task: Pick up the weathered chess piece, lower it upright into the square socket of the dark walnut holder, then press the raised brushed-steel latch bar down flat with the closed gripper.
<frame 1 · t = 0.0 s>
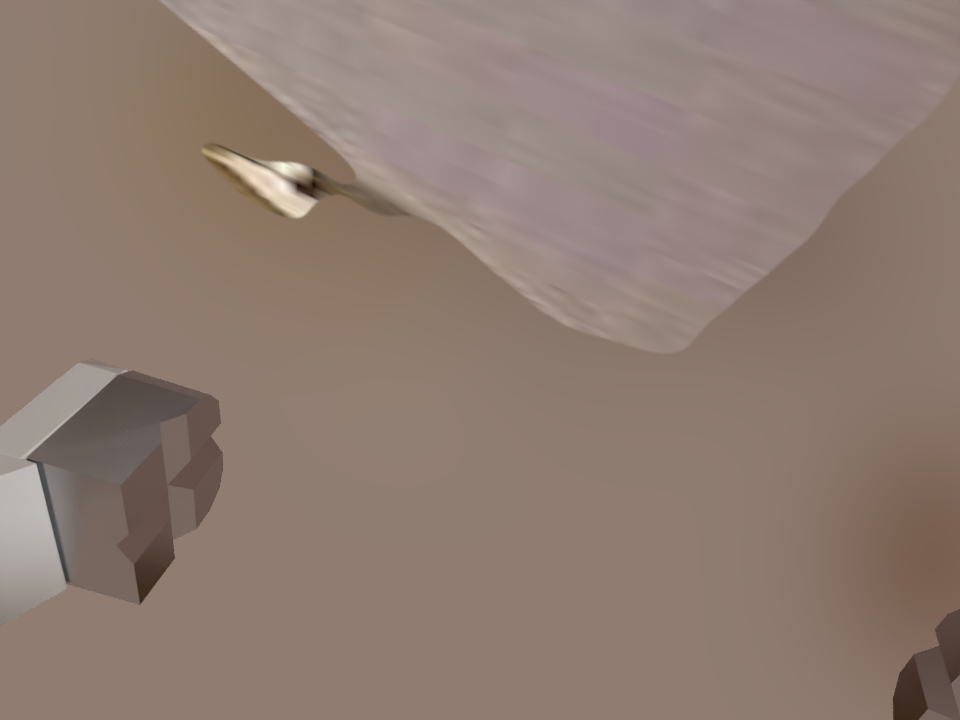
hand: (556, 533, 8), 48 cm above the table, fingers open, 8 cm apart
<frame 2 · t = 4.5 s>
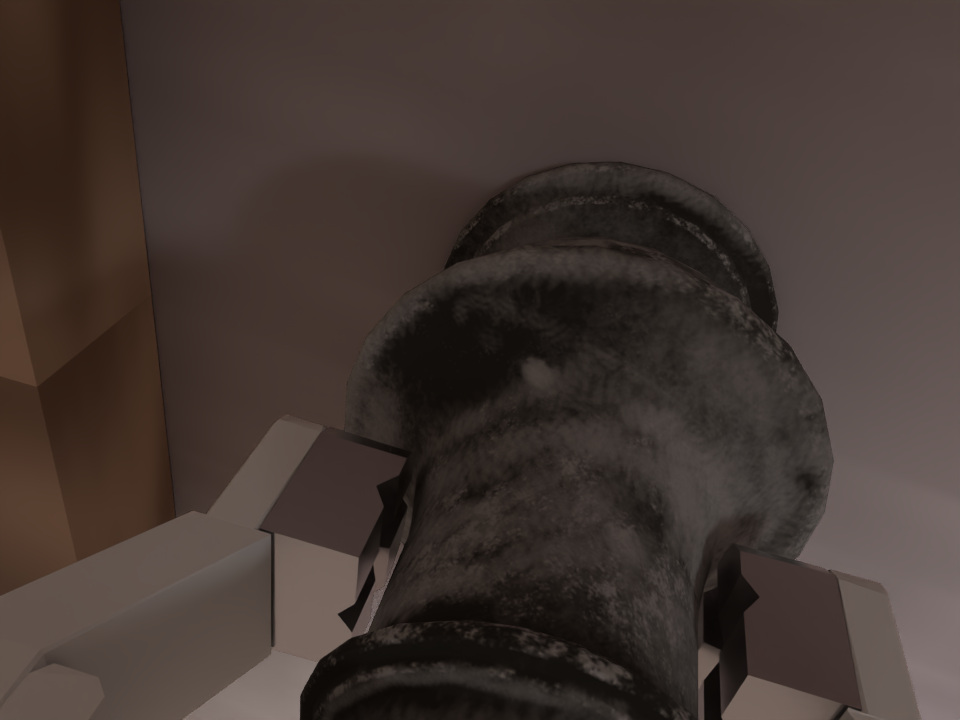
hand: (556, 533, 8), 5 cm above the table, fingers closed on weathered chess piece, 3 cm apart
weathered chess piece: (601, 317, 12), on the table, touching gripper
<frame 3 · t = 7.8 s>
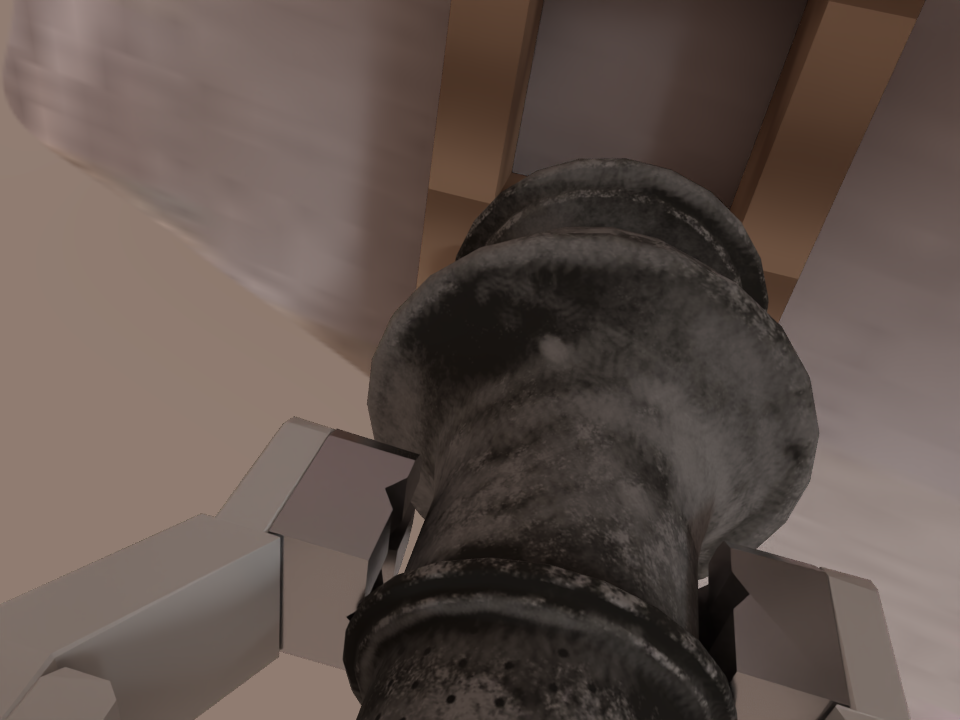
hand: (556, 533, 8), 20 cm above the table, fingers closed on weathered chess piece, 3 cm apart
weathered chess piece: (603, 304, 13), point 14 cm above the table, touching gripper
walnut holder: (608, 228, 27), on the table
when the fingers open (6 cm above the table, at t = 10.5 s): weathered chess piece moves 1 cm, resting on walnut holder.
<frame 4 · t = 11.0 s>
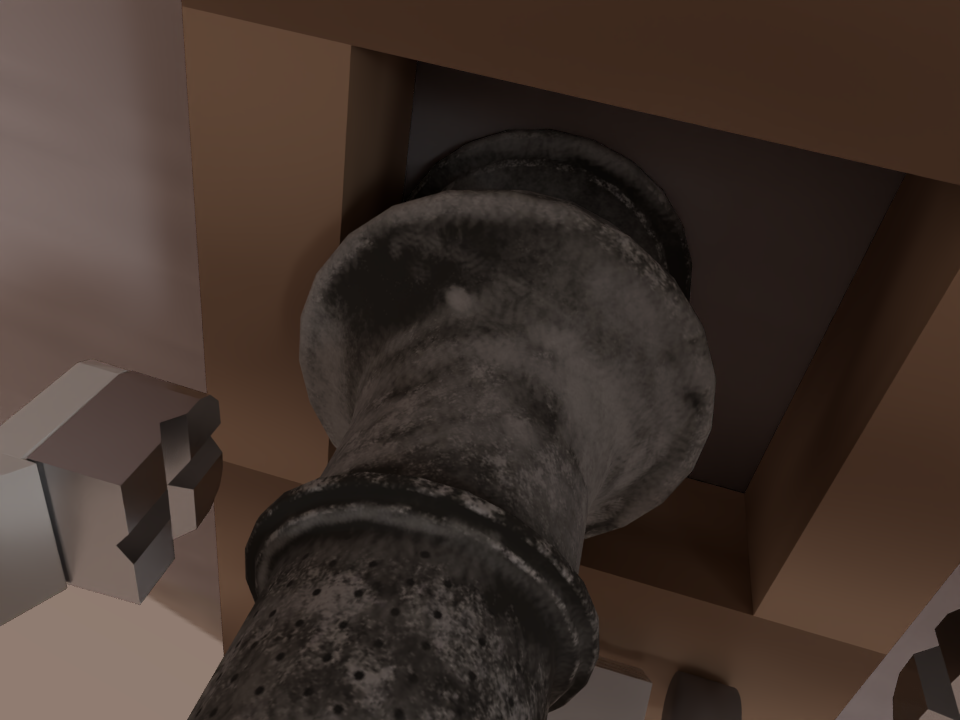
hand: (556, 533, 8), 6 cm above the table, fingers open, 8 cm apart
weathered chess piece: (539, 273, 14), resting on walnut holder
walnut holder: (546, 483, 16), on the table
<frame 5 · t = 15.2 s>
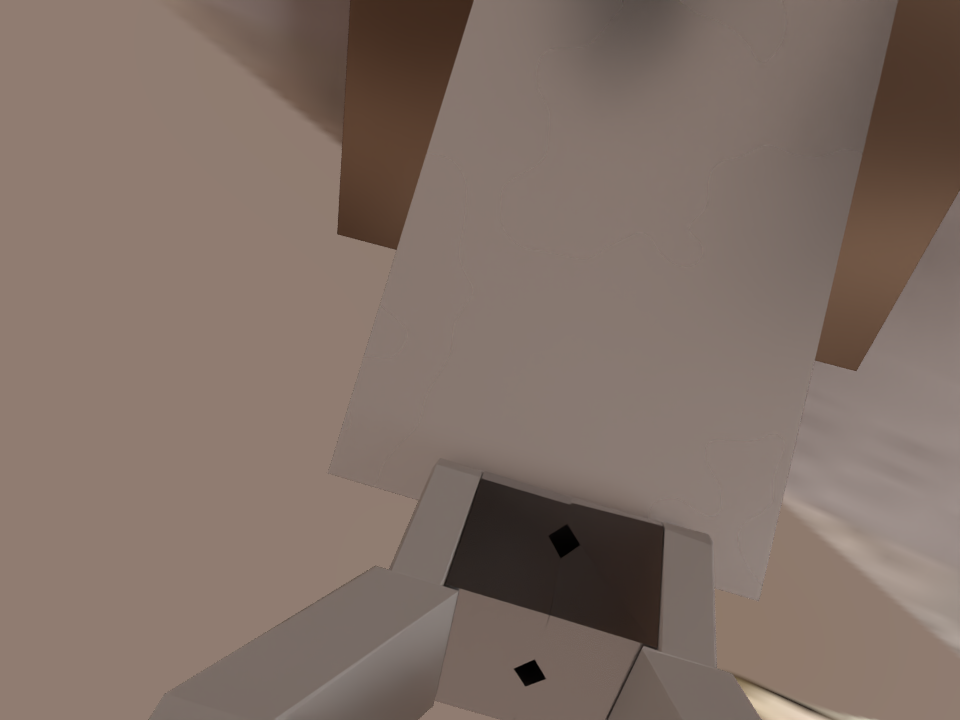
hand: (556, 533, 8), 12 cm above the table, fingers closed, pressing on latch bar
latch bar: (659, 77, 10), point 8 cm above the table, hinge at 43.4°, touching gripper
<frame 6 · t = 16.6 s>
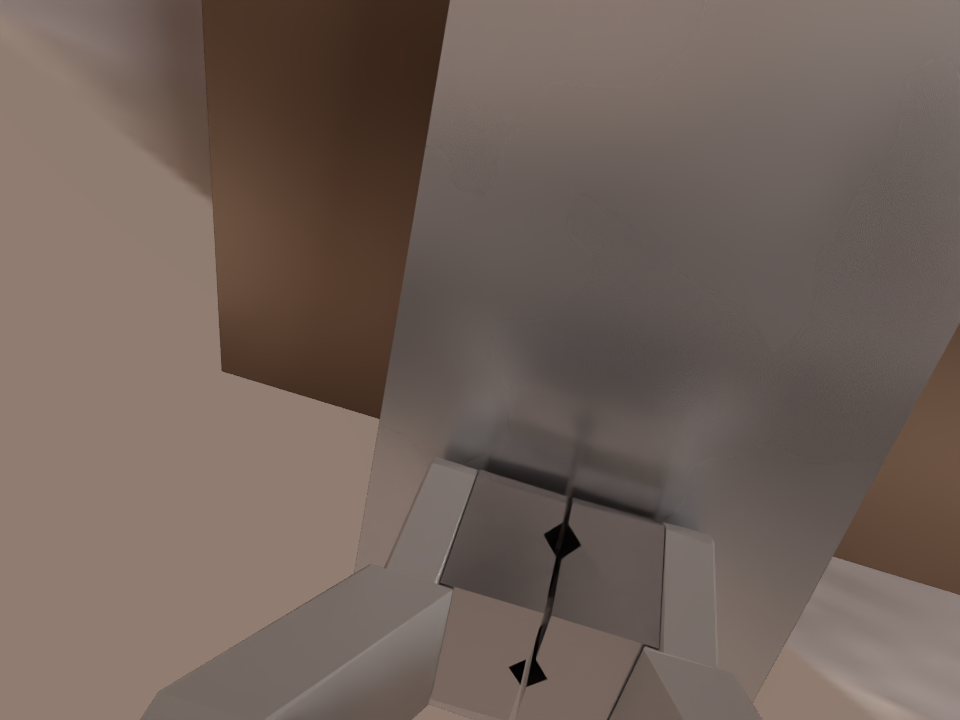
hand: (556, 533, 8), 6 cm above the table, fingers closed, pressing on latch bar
latch bar: (652, 309, 8), point 5 cm above the table, hinge at 9.6°, touching gripper
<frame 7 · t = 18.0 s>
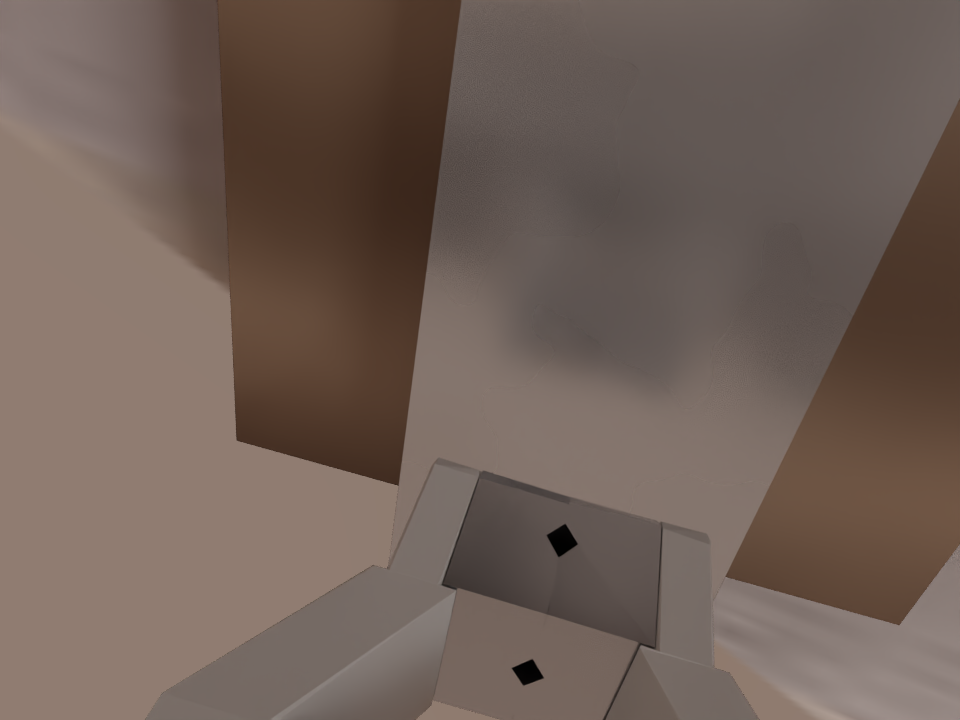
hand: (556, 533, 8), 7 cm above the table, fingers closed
latch bar: (602, 372, 11), point 4 cm above the table, hinge at 1.4°
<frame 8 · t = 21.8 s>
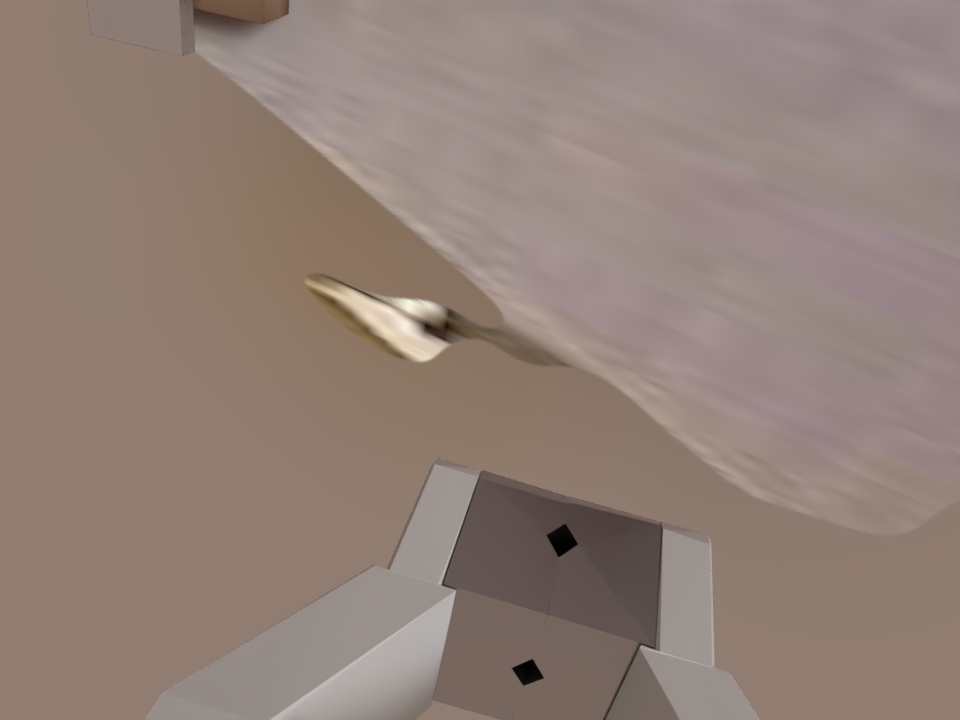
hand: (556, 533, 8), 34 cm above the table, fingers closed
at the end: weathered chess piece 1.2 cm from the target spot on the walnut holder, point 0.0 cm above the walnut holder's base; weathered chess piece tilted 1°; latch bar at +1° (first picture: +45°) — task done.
